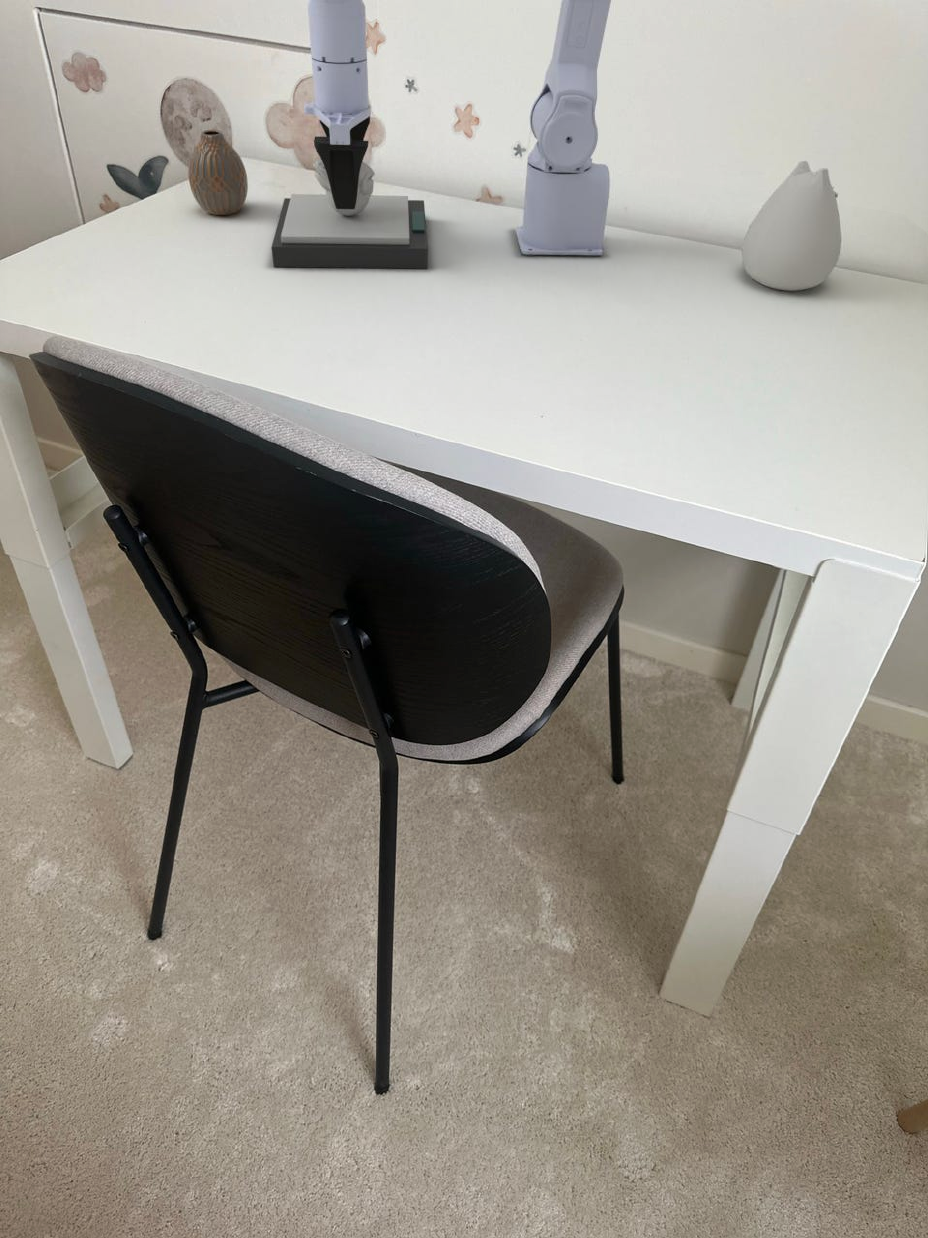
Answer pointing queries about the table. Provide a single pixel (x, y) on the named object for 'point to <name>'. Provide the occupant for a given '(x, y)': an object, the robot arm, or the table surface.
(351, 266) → the scale
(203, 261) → the table surface
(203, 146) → the vase
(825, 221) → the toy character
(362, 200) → the frog figurine
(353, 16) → the robot arm
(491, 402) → the table surface
